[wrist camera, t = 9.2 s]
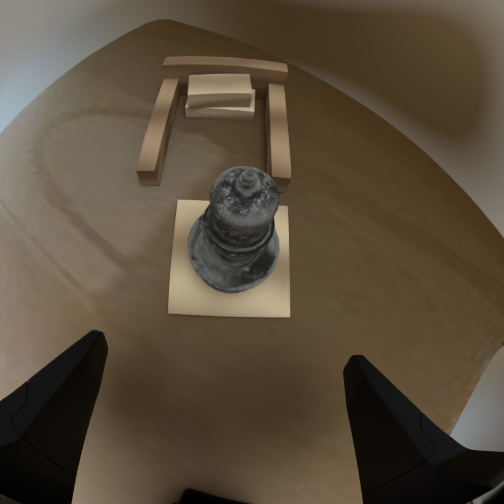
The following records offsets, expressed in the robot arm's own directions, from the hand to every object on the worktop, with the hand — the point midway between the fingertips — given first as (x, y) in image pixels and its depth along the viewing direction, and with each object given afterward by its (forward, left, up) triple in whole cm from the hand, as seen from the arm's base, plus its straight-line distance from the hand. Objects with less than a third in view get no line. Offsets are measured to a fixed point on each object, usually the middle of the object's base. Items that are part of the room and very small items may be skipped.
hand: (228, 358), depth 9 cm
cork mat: (+2, -6, -11) cm, 13 cm away
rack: (+8, -18, -11) cm, 23 cm away
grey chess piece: (+2, -6, -11) cm, 12 cm away
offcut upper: (+10, -21, -10) cm, 25 cm away
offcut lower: (+9, -21, -12) cm, 26 cm away
